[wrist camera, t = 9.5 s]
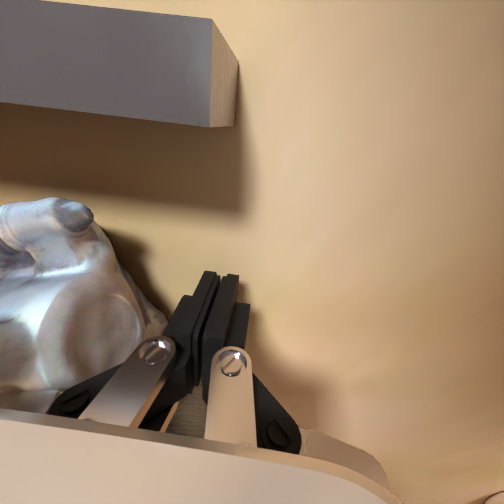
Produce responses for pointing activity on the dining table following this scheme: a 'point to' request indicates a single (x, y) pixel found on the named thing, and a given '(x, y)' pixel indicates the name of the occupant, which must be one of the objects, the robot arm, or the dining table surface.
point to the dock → (120, 82)
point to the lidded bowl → (496, 499)
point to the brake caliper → (64, 298)
